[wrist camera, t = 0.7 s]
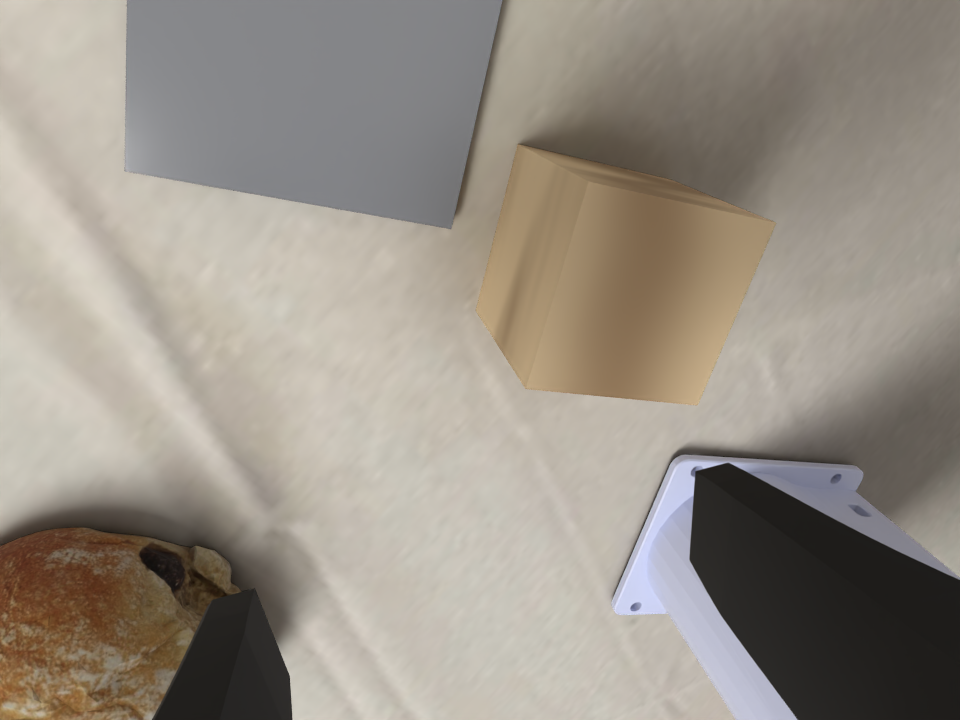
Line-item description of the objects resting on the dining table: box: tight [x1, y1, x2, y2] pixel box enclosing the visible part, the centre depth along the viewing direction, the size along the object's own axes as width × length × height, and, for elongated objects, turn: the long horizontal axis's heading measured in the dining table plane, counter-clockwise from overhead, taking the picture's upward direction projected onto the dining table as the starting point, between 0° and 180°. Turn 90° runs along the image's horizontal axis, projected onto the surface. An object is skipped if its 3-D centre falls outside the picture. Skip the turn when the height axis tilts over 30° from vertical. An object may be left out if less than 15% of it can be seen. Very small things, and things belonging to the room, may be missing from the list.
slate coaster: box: [125, 0, 502, 229], centre depth 15 cm, size 8×8×1 cm
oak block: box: [476, 144, 776, 405], centre depth 17 cm, size 5×5×5 cm
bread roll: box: [0, 527, 242, 720], centre depth 20 cm, size 10×10×8 cm
